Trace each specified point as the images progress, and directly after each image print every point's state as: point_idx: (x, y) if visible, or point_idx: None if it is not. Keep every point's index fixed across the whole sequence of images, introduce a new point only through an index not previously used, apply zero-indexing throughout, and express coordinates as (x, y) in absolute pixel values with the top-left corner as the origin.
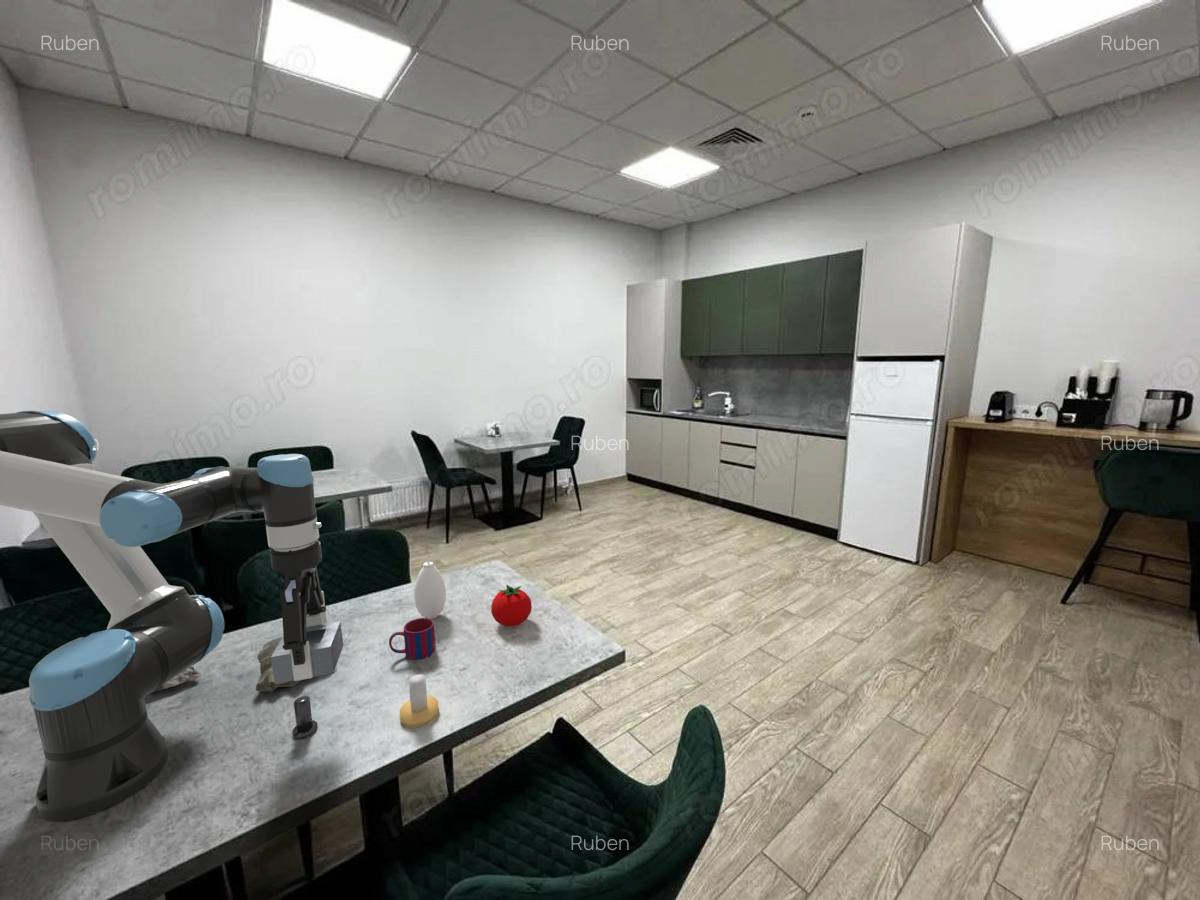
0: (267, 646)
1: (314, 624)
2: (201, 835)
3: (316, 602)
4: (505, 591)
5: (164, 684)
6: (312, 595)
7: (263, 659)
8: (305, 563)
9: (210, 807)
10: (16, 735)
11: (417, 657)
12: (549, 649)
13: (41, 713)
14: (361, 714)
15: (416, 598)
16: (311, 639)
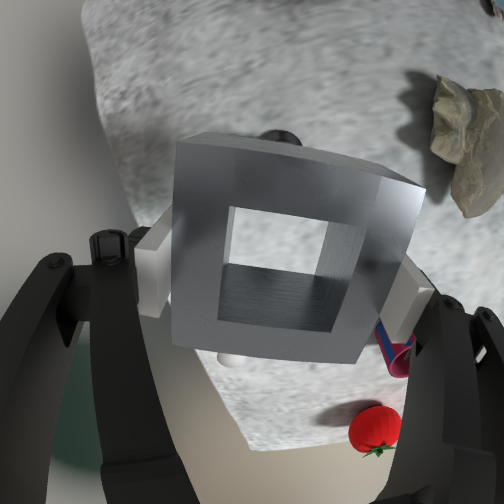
0: None
1: (390, 297)
2: (112, 53)
3: (407, 398)
4: (384, 446)
5: None
6: (402, 446)
7: (487, 97)
8: None
9: (156, 43)
10: None
11: (380, 324)
12: (290, 427)
13: None
14: (280, 239)
15: (483, 352)
16: (340, 263)
